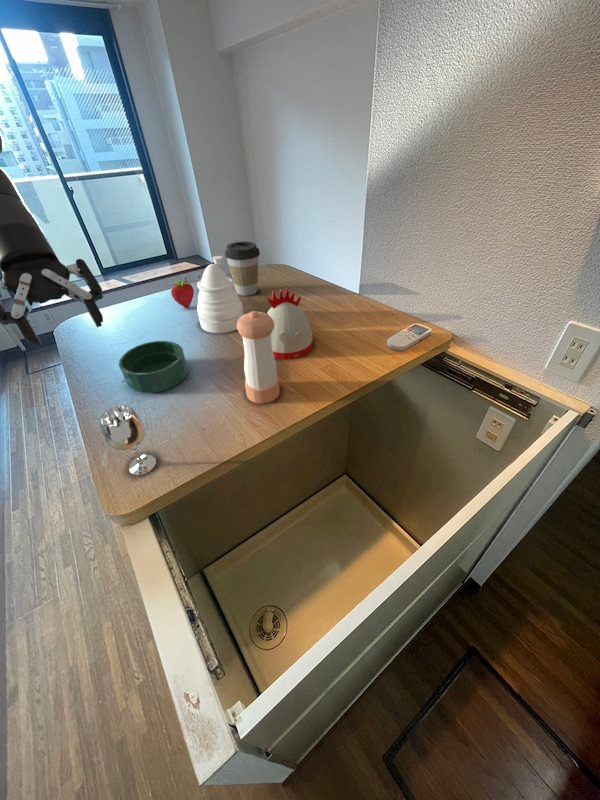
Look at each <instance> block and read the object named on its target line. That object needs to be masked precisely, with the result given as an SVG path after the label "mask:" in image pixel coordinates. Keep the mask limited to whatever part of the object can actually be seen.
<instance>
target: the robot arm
mask: <svg viewBox="0 0 600 800" xmlns="http://www.w3.org/2000/svg"><path fill="white" fill-rule="evenodd" d="M4 148H5V144H4V138H3V135H2V133H1V132H0V154H2V152H3V151H4ZM0 272H1V274H2V278H1V279H0V299H1V298H3V297H4V294H5V293H4V291H5V290H8V291H10V292H12V293H14V294H15V296H14V299H13V301H14V302H13V303H14V304H13V306H12V309H11V311H6V309H5V307H4V305H3V303H2V301H1V300H0V324H1V325H3V326H6V325H9V324H10V325H11V324H13V325H16V326H17V328H18V329H19V331H20V333H21V334H22V336H23V338H24V339H25V340H26V341H27V342H28V343H29V344H34V345H35V346H36V347H38V346H42V342H41V340H40V339H39V337H38V335H37V333H36V332H35V330H34V328H33V326H32V325H31V323H30V322H29V320H28V319H29V316H30V313H31V312H32V311H33V308H34V303H36V304H39V305H42V304H45V303H48V302H50V301H56V300H60V299H63V297H64V296H66V297H68V298H69V299H72V300H74V301H78V302H80V303H82V304H83V305H84V306H85V308H86V311H87V313H88V314H89V316H90V318H91V319H92V321H93V323H94V325H95V326H96V328H99V327H102V325H103V324H102V323H103V322H104V317H103V314H102V312H101V311H100V309H99V307H98V305H97V303H96V302H98V301H99V300H102V299H104V294H103V289H102V287H101V285H100V284H99V281H98V280H97V278H96V277H95V275H94V274H93V273H92V271H91V269H90V268H89V266H88V265H87V263H86V261H85V260H84V259H82V258H78V259H76V260H75V263H72V264H69V265H65V264H63V263H62V261H60V260H59V257H58V256H57V254H56V253H55V251H54V248H53V247H52V245H51V244H50V242H49V240H48V238H47V237H46V235H45V233H44V231H43V229H42V228H41V226H40V223H39V222H38V221H37V219H36V217H35V216H34V215H33V213H32V212H31V211H30V209H29V207H28V206H27V205H26V203H25V201H24V199H23V198H22V196H21V194H20V193H19V191H18V189H17V186H16V185H15V183H14V181H13V180H12V179H11V177H10V176H9V174H8V173H7V172H6V171H5V170H4V169H2V167H0ZM71 275H74V276H75V277H77V278H78V279H83V281H84V282H85V284H86V285H87V287H88V288H89V291H87V290H85V289H83V288H81V287H80V286H78V285H77V284H76V283H74V282H72V281H71V280H70V278H71Z"/></svg>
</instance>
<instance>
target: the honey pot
mask: <svg viewBox="0 0 600 800" xmlns="http://www.w3.org/2000/svg"><path fill="white" fill-rule="evenodd" d="M212 261H213V263H210V264H209V265H207V267H205V269H204V271H203V274H202V277H201V279H199V281H198V282H197V284H196V286H197V288H198V290H199V292H198V295H197V305H196V310H197V316H198V320H199V324H200V327H201V329H202V330H203V331H205V332H207V333H211V334H226V333H231V332H234V331H236V330H237V322H238V320H239V318H240V317H241V316H242V315H244V314H245V312H244V307H243V302H242V301H241V299H240V295H239V294H237V291H236V290H235V286H234V280H233V279H232V277H230V276H228V275H227V274H226V273H225V271H224V270H223V269H222V268H221V267H220V266H221V265H222V263H223V256H222V255H215V256H212Z"/></svg>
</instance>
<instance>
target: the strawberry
mask: <svg viewBox="0 0 600 800" xmlns="http://www.w3.org/2000/svg"><path fill="white" fill-rule="evenodd" d="M177 278H179V276H178V275H177ZM174 282H175V283H174V284H172V285H171V286H172V288H171V289H170V293H171V294H170V295H171V297H172V299H173V300H174V301H175V302H176V303H178V304H179V306H181V307H182V308H184V309H189V308H190V305H191V304H192V301H193V298H194V295H195V294H194V293H195V290H194V288H193V285H192V284H191V283H189V282H188V280H183V281H182V279H180V280H179V281H178V280H175V281H174Z"/></svg>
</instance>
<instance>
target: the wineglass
mask: <svg viewBox="0 0 600 800" xmlns="http://www.w3.org/2000/svg"><path fill="white" fill-rule="evenodd" d="M99 424H100V429H101V432H102V435H103V437H104V439H105V441H106V443H107V444H108V445H109V446H110V447H111V448H113V449H115V450H118V451H128V450H130V451H132V453H134V455H135V456H136V457H135V458H134V459H132V461H131V462H130V463H129V465H128V471H129V473H130V474H132V475H134V476H143V475H145V474H148V473H150V472H151V471H152V470H153V469H154V468H155V466H156V464H157V459H156V457H155V456H154V455H152V454H141V455H140V454H139V449H138V446H139V445H140V444H141V443H142V442H143V440H144V439H145V437H146V427H145V424H144V422H143V419H142V418H141V417H140V416H139V414H138V413H137V412H136V411H135V410H134V409H133V408H132V407H130V406H129V405H123V404H121V405H116V406H113V407H111V408H109V409H107V410H106V411H105V412H103V413H102V414H101V416H100V418H99Z"/></svg>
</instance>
